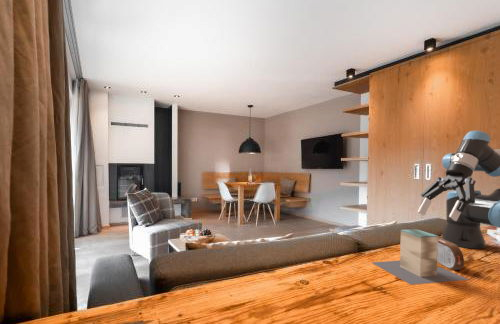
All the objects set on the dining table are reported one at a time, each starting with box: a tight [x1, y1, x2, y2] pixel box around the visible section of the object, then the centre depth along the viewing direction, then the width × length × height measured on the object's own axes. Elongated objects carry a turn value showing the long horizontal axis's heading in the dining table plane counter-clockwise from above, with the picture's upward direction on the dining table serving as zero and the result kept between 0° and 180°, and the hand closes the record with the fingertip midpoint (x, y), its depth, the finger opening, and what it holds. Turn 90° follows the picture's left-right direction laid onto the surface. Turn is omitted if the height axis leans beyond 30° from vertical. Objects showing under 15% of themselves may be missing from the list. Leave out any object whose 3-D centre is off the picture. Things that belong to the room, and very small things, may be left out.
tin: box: [437, 236, 465, 271], centre depth 92 cm, size 15×3×8 cm, turn 179°
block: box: [399, 228, 439, 277], centre depth 85 cm, size 6×8×12 cm
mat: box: [370, 260, 470, 285], centre depth 86 cm, size 20×17×1 cm
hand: (435, 216), depth 99 cm, fingers open, 13 cm apart
